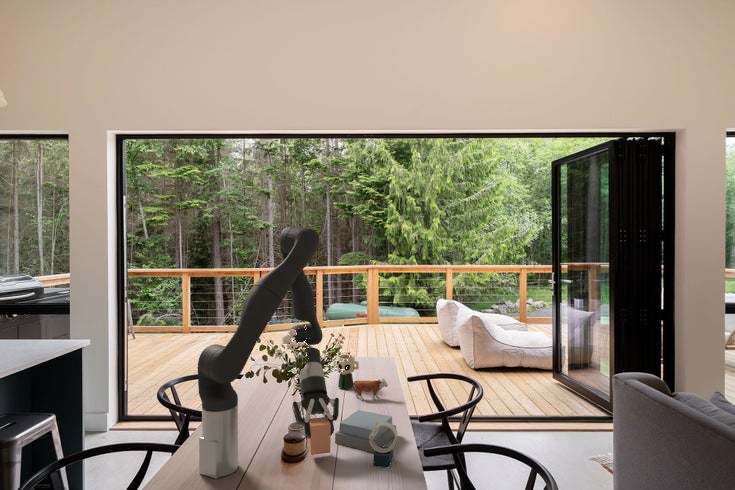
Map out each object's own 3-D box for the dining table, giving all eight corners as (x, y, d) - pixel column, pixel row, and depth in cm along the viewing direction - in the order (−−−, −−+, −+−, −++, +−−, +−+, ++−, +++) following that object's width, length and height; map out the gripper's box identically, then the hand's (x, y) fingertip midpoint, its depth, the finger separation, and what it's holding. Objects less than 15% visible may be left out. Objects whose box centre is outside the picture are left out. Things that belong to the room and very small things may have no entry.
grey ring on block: (371, 455, 135) (371, 417, 135) (398, 459, 134) (399, 420, 133) (366, 465, 130) (366, 425, 130) (395, 468, 128) (395, 428, 128)
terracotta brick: (330, 452, 132) (330, 424, 132) (310, 455, 131) (311, 426, 131) (326, 444, 138) (326, 416, 137) (307, 446, 136) (307, 418, 136)
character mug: (330, 389, 193) (330, 357, 193) (336, 383, 200) (336, 353, 200) (355, 391, 190) (355, 359, 190) (360, 386, 197) (361, 355, 197)
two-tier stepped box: (376, 453, 137) (376, 432, 137) (335, 443, 144) (335, 423, 144) (396, 434, 150) (396, 415, 149) (357, 426, 156) (357, 408, 156)
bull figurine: (388, 401, 180) (388, 379, 179) (352, 400, 180) (352, 379, 180) (387, 397, 184) (387, 376, 184) (353, 396, 184) (353, 376, 184)
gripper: (290, 376, 139) (296, 433, 128) (337, 372, 143) (347, 427, 132) (287, 388, 144) (293, 444, 133) (333, 385, 148) (342, 438, 137)
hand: (320, 435), depth 132 cm, fingers closed on terracotta brick, 5 cm apart
